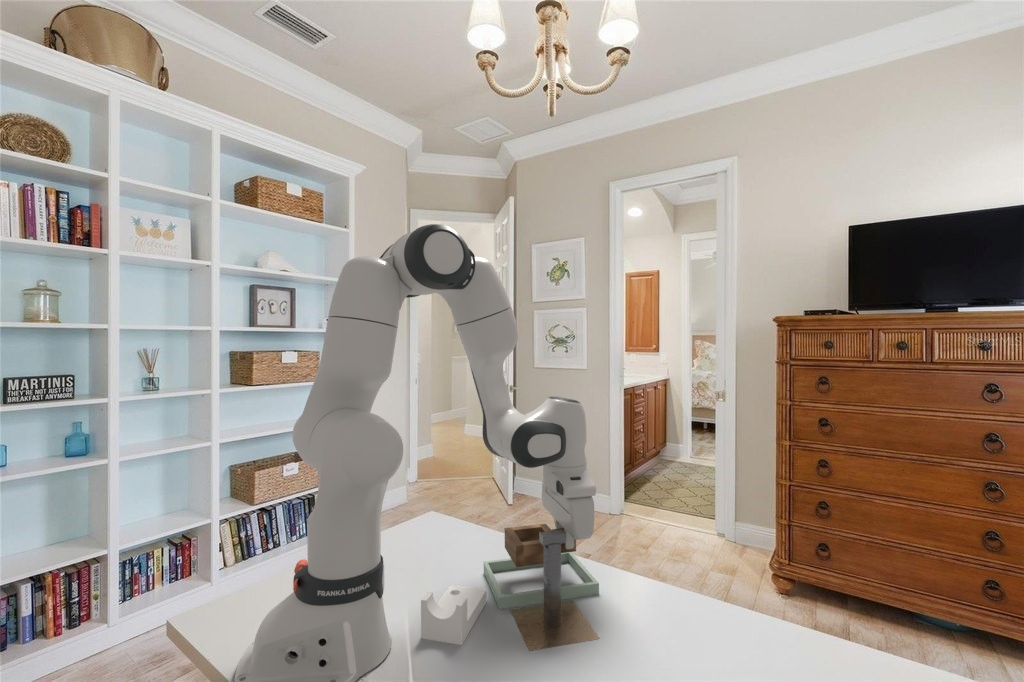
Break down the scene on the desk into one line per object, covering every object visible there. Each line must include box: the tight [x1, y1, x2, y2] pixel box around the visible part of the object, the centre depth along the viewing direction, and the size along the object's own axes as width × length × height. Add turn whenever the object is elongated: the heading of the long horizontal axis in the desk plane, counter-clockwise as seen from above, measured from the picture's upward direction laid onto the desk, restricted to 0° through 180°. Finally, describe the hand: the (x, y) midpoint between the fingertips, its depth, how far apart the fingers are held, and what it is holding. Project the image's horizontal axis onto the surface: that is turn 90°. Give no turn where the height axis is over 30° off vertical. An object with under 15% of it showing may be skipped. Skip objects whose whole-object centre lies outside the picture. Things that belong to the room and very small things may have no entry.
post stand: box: [509, 530, 600, 652], centre depth 83 cm, size 12×12×16 cm
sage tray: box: [483, 552, 600, 610], centre depth 97 cm, size 20×15×3 cm
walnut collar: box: [504, 523, 577, 567], centre depth 97 cm, size 14×9×4 cm, turn 105°
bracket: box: [420, 584, 488, 646], centre depth 84 cm, size 13×7×8 cm, turn 165°
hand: (565, 543), depth 98 cm, fingers closed on walnut collar, 2 cm apart
